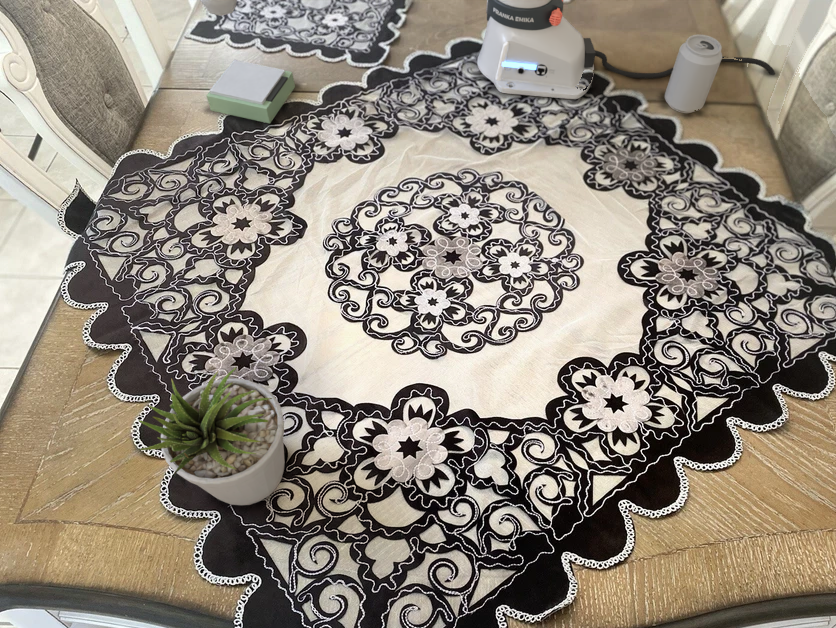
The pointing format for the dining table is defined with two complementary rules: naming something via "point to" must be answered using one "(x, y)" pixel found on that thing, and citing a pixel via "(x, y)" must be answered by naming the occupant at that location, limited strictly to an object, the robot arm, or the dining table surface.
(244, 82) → the kitchen scale
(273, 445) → the potted plant
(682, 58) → the can
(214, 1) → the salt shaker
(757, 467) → the dining table surface
